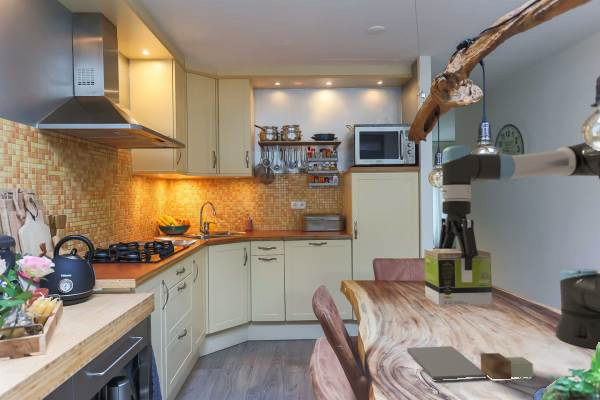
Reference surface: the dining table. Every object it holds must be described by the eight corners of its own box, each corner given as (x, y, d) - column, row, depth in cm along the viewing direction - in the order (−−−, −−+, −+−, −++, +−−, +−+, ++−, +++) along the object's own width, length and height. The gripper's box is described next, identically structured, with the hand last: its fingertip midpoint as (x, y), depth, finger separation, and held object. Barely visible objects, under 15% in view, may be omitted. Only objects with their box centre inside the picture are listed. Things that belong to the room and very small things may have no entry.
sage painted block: (522, 372, 93) (522, 356, 93) (533, 379, 89) (532, 363, 89) (500, 372, 93) (500, 357, 93) (510, 380, 89) (509, 364, 89)
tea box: (473, 297, 105) (473, 247, 105) (492, 306, 95) (492, 252, 95) (424, 297, 104) (423, 247, 104) (438, 306, 94) (438, 252, 94)
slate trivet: (451, 350, 107) (451, 346, 107) (486, 378, 89) (486, 374, 89) (407, 351, 106) (407, 348, 106) (433, 381, 88) (433, 376, 88)
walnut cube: (499, 371, 93) (498, 352, 93) (511, 381, 88) (510, 361, 88) (481, 372, 93) (480, 353, 93) (492, 381, 88) (491, 361, 88)
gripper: (427, 200, 111) (427, 270, 111) (464, 199, 88) (464, 287, 88) (450, 201, 111) (450, 270, 111) (492, 199, 89) (493, 286, 88)
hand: (456, 277), depth 99 cm, fingers closed on tea box, 10 cm apart
